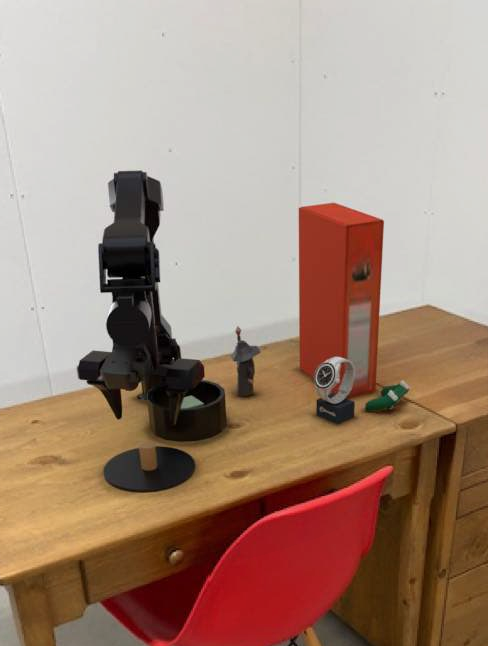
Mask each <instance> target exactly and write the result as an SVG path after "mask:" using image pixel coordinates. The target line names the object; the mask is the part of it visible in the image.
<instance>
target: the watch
mask: <svg viewBox="0 0 488 646" xmlns="http://www.w3.org/2000/svg"><path fill="white" fill-rule="evenodd" d="M342 362H344V363H345V366H346V372H345V374H344V376H343V379H342V382H341V385H340V387H339V389H338V390H339V392H338V394H335V393H333V392H331V390H332V389H333V388H334V387H335V386H336V384H337V383H339V382H340V379H339V371H340V367H341V364H340V363H342ZM354 380H355V368H354V365H353V363H352V362H351V361H349V360H347V359H344V358H341V357H333V358H330V359H329V360H327V361H325V362H324V363H322V364H321V365H320V366H319V367H318V368H317V370H316V372H315V375H314V379H313V381H314V382H313V383H314V385H315V390H316V392H317V395H318V396H319V398H317V399H316V408H315V409H316V410H315V411H316V412H315V413H316V414H315V415H316V416H318V417H320V418H322V419H324V420H326V421H329V422H330V423H333V424H335V425H340V424H342V423H344V422H348V421H350V420H352V419H354V418H355V409H356V408H355V407H356V406H355V405H356V401H354V400H352V399H350V398H345V397H346V396H347V395H349V393H350V391H351V389H352V386H353V383H354Z"/></svg>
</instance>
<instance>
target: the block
mask: <svg viewBox="0 0 488 646" xmlns="http://www.w3.org/2000/svg"><path fill="white" fill-rule="evenodd" d="M199 406H204V403H202V402H201V401H199V400H198V399H196V398H195V397H193V396H188V397H184V399H183V402H182V405H181V408H195V407H199Z"/></svg>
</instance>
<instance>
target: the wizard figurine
mask: <svg viewBox="0 0 488 646" xmlns="http://www.w3.org/2000/svg"><path fill="white" fill-rule="evenodd" d="M241 332H242V328H241V327H239V325H237V327H236V329H235V334H236V339H237V342H236V345H235V348H234V351H233V352H232V353H231V355H230V359H231V361H232V362H236V372H237V381H236V382H237V383H236V393H237V396H243V397H244V396H246V397H250V396H254V395H255V393H254V391H255V390H254V382H255V379H254V377H255V375H256V369H255V362H254V357H256V356H258V355H259V354H260V353H261V350H260V349H259V346H258V345H250V344H249V343H248V342H247V341H245V340H243V339H241V334H242V333H241Z"/></svg>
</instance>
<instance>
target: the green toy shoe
mask: <svg viewBox="0 0 488 646" xmlns="http://www.w3.org/2000/svg"><path fill="white" fill-rule="evenodd" d="M409 391H410V387H409V385H408V384H407V383H406V381H404V380H403V379H401V380H400V382H398V383H397V384H392V385H387V386H385V387H382V389H381V390H380V395H381V396H379V397H376V398H372V399H370V400H368V401H367V402H365V404H364V409H365V411H368V412H378V411H384V410H389V411H391V410H392V409H394V408H395V407H394V406H395V405H398V404H399V403H400V402H401V401H400V400H401V399H402V398H404V396H405V395H406V394H408V393H409Z"/></svg>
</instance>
